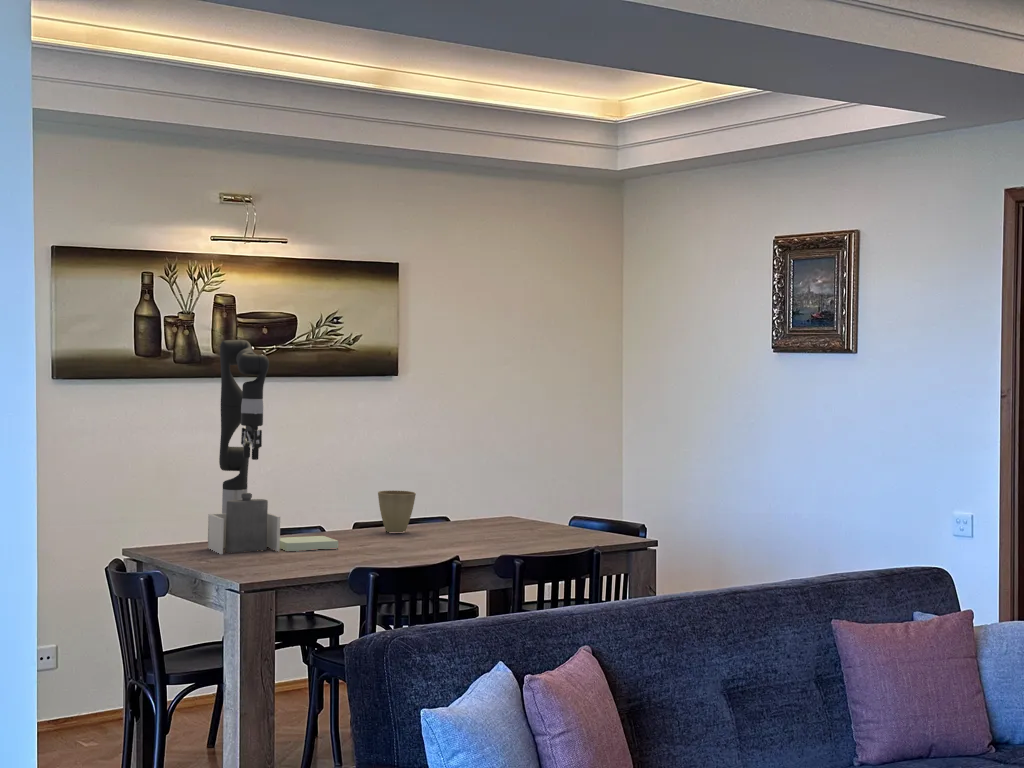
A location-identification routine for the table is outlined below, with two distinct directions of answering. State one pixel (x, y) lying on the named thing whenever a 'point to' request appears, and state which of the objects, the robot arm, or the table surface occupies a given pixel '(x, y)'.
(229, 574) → the table surface
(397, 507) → the plant pot
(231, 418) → the robot arm
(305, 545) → the stand
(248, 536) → the flask
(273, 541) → the bay
